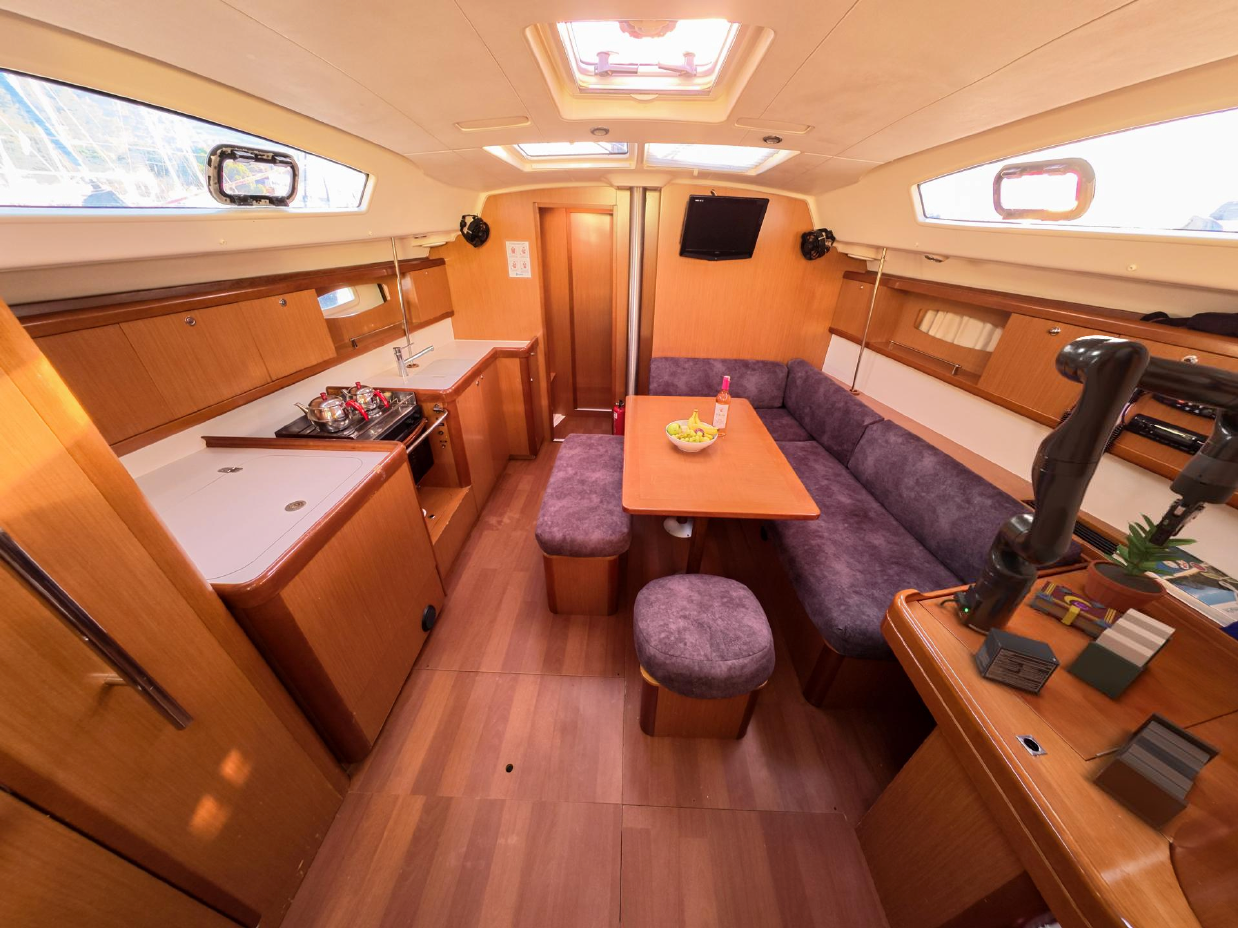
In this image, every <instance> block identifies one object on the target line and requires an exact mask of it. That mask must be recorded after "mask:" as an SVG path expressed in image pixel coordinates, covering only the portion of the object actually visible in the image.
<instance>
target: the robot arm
mask: <svg viewBox="0 0 1238 928" xmlns="http://www.w3.org/2000/svg"><path fill="white" fill-rule="evenodd" d="M1054 367H1055V370H1056V372H1057V373H1058V374H1059V375H1060V376H1061V377H1062V378H1064V379H1066V380H1068V381H1070V382H1074V383H1076V384H1077V383H1078V384H1081V385H1082V389H1081V393H1080V396H1079V398H1078V401H1077V403H1076V406H1075V408H1074V409H1073V411H1072V412H1071V414H1070V416H1068V417H1067V419H1065V420H1064V421H1063V422H1062V423H1060V424H1059V425H1058V426H1056V427H1055V428H1054V429H1053V430H1051V431H1050V432H1049V433H1048V434H1047V435H1046V436H1044V438H1043V439H1042V440H1041V442H1040V443H1039V445H1038V448H1037V450H1036V453H1035V456H1034V459H1033V462H1032V466H1031V473H1030V477H1031V478H1030V479H1031V486H1032V492H1033V498H1034V513H1032V514H1031V513H1020V514H1015V515H1013V516H1011V517H1009V518H1008V519H1006V521H1004V522H1003V523H1002V524H1001V526H1000V527H999V529H998V531H997V533H996V534H995V537H994V539H993V541H992V543H991V545H990V547H989V549H988V553H987V562H986V564H985V565H984V567H983V569H982V570H981V573H980V574H979V576H978V578H977V580H976V581H975V584H971V583H970V585H968V587H967V589H966V590H965V592H963V591H959V590H956V591H955V592H954V594H953V596H952V598H947V599H943V600H942V601H941V602H940V603H939V605H940V606H941V607H942V606H944V605H945V604H946V603H955V605H956V608H955V609H956V613H957V615H958V617H959V619H960V622H961V625H962V626H965V627H968V628H970V629H971V630H973V631H975V632H977V633H979V634H981V635H984V636H987V635H988V633H989V632H990V630H991V628H995V629H998V630H1002V631H1005V629H1006V628H1007V626H1008V624H1009V623H1010V621H1011V620H1012V618H1013V617H1014V616H1015V614H1016V613H1017V611H1018V610H1019V608H1020V606H1021V604H1022V603H1023V602H1024V600H1025V598H1026V597H1027V595H1028V594H1029V592H1031V589H1032V588H1033V586H1034V584H1035V583H1036V582H1037V580H1038V577H1039V573H1038V570H1037V568H1036V566H1037V567H1045V566H1050V565H1053V564H1055V563H1058V562H1059V561H1060V560H1061V559H1063V557H1065V555H1066V554H1067V553H1068V551H1069V549H1070V547H1071V543H1072V539H1073V535H1074V530H1075V525H1076V522H1077V518H1078V515H1079V512H1080V509H1081V507H1082V504H1083V502H1084V500H1085V496H1086V494H1087V491H1088V489H1089V486H1090V483H1091V482H1092V480H1093V478H1094V475H1095V474H1096V472H1097V469H1098V467H1099V464H1100V463H1101V460H1102V458H1103V454H1104V451H1105V449H1106V447H1107V444H1108V442H1109V440H1110V438H1111V436H1112V433H1113V432H1114V430H1115V427H1116V426H1117V425H1116V424H1117V422H1118V420H1119V418H1120V416H1121V414H1122V413H1123V411H1124V409H1125V407H1126V406H1127V404H1128V403H1129V401H1130V399H1131V398H1132V396H1133V394H1134V393H1135V391H1136V389H1139V390H1143V391H1146V392H1148V393H1152V394H1156V395H1159V396H1162V397H1166V398H1169V399H1172V400H1176V401H1180V402H1183V403H1188V404H1193V405H1197V406H1200V407H1204V408H1205V407H1206V408H1211V409H1216V410H1217V413H1216V415H1215V419H1214V423H1213V428H1212V432H1211V434H1210V435H1209V437H1208V438H1207V439H1206V441H1205V442H1204V443H1203V445H1202V446H1201V447H1200V449H1198V451H1197V452H1196V453H1195V455H1193V456H1192V457H1191V458H1190V459H1189V461H1187V463H1186V464H1185V465H1184V467H1183V468H1182V469H1181V471H1180V472H1179V474H1178V475H1177V476H1176V477H1175V479H1174V481H1172V482H1171V484H1170V486H1169V490H1170V491H1171V492H1173V494H1176V495H1179V496H1180V497H1182V498H1180V497H1177V498H1176V499H1175V500H1172V501H1171V503H1170V504H1169V506H1168V509H1167V510H1166V511H1165V512H1164V513H1163V514H1162V515H1161V519H1160V521H1159V522H1158V523H1156V524H1155V525H1156V528H1157V529H1156V531H1155V532H1154V533H1153V535H1152V536H1151V537H1150V539H1149V540H1148V542H1149V543H1152V544H1154V545H1157V546H1160V547H1161V546H1164V545H1165V544H1166V542H1167V541H1168V540H1169V539H1171V538H1172V537H1173V538H1175V537H1177V536H1178V535H1179V534H1180V533H1181V532H1182V530H1183V529H1184V528H1185V527H1186V526H1187V525H1188V524H1189V523H1191V522H1192V520H1195V519H1196V518H1198V516H1199V515H1201V514H1202V513H1203V512H1204V511H1205V509H1206V508H1207V506H1205V504H1210V505H1225V504H1226V503H1228V502H1229V500H1230V499H1231V498H1232V497H1233V495H1235V494H1236V492H1237V491H1238V371H1234V370H1231V369H1225V368H1221V367H1218V366H1212V365H1208V364H1202V363H1196V362H1190V361H1184V360H1183V361H1182V360H1177V359H1172V358H1165V357H1161V356H1156V355H1151V352H1150V349H1149V347H1147V346H1146V344H1144V343H1142V342H1140V341H1137V340H1132V339H1126V338H1120V337H1114V336H1107V335H1088V336H1083V337H1080V338H1076V339H1074V340H1072V341H1070V342H1069V343H1067V344H1065V346H1063V347H1062V348H1061V349H1060V350H1059V351H1058V353H1057V354H1056V357H1055V360H1054ZM1167 521H1169V522H1168V523H1167V524H1166V525H1165V523H1166V522H1167ZM1184 526H1185V527H1184Z"/></svg>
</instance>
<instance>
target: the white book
mask: <svg viewBox="0 0 1238 928" xmlns="http://www.w3.org/2000/svg"><path fill="white" fill-rule="evenodd" d="M1111 630H1113V631H1115V632H1117V633H1119V634H1121V635H1123V636H1125V637H1126V638H1128V639H1130V640H1132V641H1134V642H1136V643H1138V644H1140V645H1142V646H1144V647H1146V648H1148V649H1149V650H1151V651H1153V652H1154V653H1155V652H1156V651H1157V650H1158V649H1159V648H1160V647H1161V646H1162V644H1163V643H1164V642H1165V641H1166V640H1164V639H1162V638H1160V637H1158V636H1156V635H1154V634H1152V633H1150V632H1148V631H1146V630H1144V629H1142V628H1140V627H1138V626H1136V625H1134V624H1132V623H1130V622H1128V621H1126V620H1124V619H1122V618H1120V619H1119V620H1118V621H1117V622H1116V623H1115V624H1114V625H1113V626H1112V627H1111ZM1154 653H1153V654H1154ZM1153 654H1152V655H1153ZM1152 655H1151V656H1152ZM1151 656H1150V657H1151ZM1150 657H1149V658H1150ZM1149 658H1148V659H1147V660H1146V661H1145V663H1146V662H1147V661H1148V660H1149ZM1145 663H1144V664H1145ZM1144 664H1143V665H1144ZM1143 665H1142V666H1143ZM1142 666H1141V667H1142Z"/></svg>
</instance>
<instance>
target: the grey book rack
mask: <svg viewBox="0 0 1238 928" xmlns="http://www.w3.org/2000/svg"><path fill="white" fill-rule="evenodd" d="M1221 753H1222V750H1221V749H1219V748H1217V747H1215V746H1214V745H1212V744H1211V743H1209V742H1207V741H1205V740H1204V739H1202V738H1200V737H1199V736H1197V735H1195V734H1193V733H1192V732H1191V731H1189V730H1187V729H1186V728H1184V727H1182V726H1180V724H1177V723H1176V722H1174V721H1172V720H1170V719H1169V718H1167V717H1165V716H1164V715H1162V714H1161V713H1159V712H1157V711H1154V712H1153V713H1151V715H1150V716H1148V718H1147V719H1146V720H1144V722H1142V723H1141V724H1140V726H1138V727H1137V728H1136V729H1135V730H1133V732H1132V733H1131V734H1130V735H1129V737H1128V738H1127V739H1126V740H1125V741H1124V743H1123V744H1122V745H1121V746H1120V747H1119V749H1118V750H1117V751H1116V752H1115V753H1114V754H1113V756H1112V757H1111V758H1110V760H1108V762H1107V763H1106V764H1105V765H1104V766H1103V768H1102V769H1101V770H1100V772H1098V774H1097V775H1096V776H1095V777H1094V779H1092V783H1093V784H1095V785H1096V786H1098V787H1099V789H1102V790H1103V791H1104V792H1105V793H1107V795H1109V796H1111V797H1112V798H1113V799H1115V800H1116V801H1117V802H1119V803H1120V804H1122V806H1124V807H1125V808H1126V809H1128V810H1129V811H1130V812H1132V813H1133V814H1134V815H1136V816H1137V817H1138V818H1140V820H1142V821H1143V822H1145V823H1147V824H1148V825H1149V826H1150V827H1151V828H1153V829H1154V830H1156V831H1158V830H1160V829H1161V828H1162V827H1164V825H1165V824H1167V823H1168V822H1170V821H1171V820H1172V819H1174V818H1175V817H1177V815H1179V814H1181V813H1182V812H1184V810H1186V809H1187V808H1188V807H1189V805H1190V803H1189V802H1187V801H1186V800H1185V797H1186V796H1187V794H1188V793H1189V791H1190V790H1191V788H1192V786H1193V784H1194V781H1192V780H1193V779H1194V778H1195V777H1197V775H1199V774H1200V773H1201V772H1202V770H1203V769H1204V767H1205V766H1206V765H1207V764H1209V763H1210V762H1212V761H1213V760H1214V759H1215V758H1216V757H1217V756H1219V755H1220V754H1221Z"/></svg>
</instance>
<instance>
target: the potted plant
mask: <svg viewBox="0 0 1238 928" xmlns="http://www.w3.org/2000/svg"><path fill="white" fill-rule="evenodd" d="M1140 516H1141V517H1142V518H1143V520H1144V521H1145V524H1146V525H1147V527H1148V528H1149V529H1148V530H1147V529H1146V527H1144V525H1142V524H1140V523H1139V522H1136V521H1133V524H1131V523H1130V521H1128V520H1126V521H1127V523H1128V530H1129V532H1128V534H1127V535H1126V536H1123V538H1124V539H1125V540H1126V541H1127V544H1128V545H1126V546H1124V545H1122V544H1121V543H1120V542H1118V544H1119V545H1117V546H1116V549H1117V551H1113V552H1112V551H1111V553H1113V554H1114V555H1116V556H1117V557H1119V558H1121V559H1122V560H1123V561H1124V562H1122V561H1121V560H1119V559H1118V558H1116V557H1114V556H1112V555H1110V554H1108V553H1107V554H1106V553H1100V552H1098V554H1099V555H1101V556H1103V557H1104V558H1105V559H1107V560H1104V559H1094V560H1092V561H1091V562H1090V563H1089V564H1088V565H1087V567H1086V571H1087V577H1086V582H1085V586H1084V593H1085V594H1086V596H1088V597H1089V599H1090V600H1092V601H1094V600H1096V601H1098V602H1101V603H1103V604H1105V606H1106V607H1108V608H1111V609H1113V610H1115V611H1117V612H1120V613H1123V614H1125V613H1126V612H1127V611H1128V610H1130V609H1131V608H1132V609H1134V610H1136V611H1138V610H1140V609H1142V608H1143V607H1145V606H1147V605H1149V604H1151V603H1153V602H1155V601H1160V600H1162V599H1163V598H1164V597H1165V595H1166V594H1167V593H1168V592H1167V587H1166V586H1164V585H1163V583H1161V582H1160V581H1159V580H1158V579H1159V578H1158V577H1153V576H1150V575H1149V574H1147V573H1153V574H1158V575H1161V576H1162V575H1163V576H1167V577H1173V578H1176V576H1175V575H1174V574H1173V572H1171V571H1168V570H1165V569H1160V568H1156V567H1157V565H1158V563H1159V562H1160V563H1161V562H1178V561H1179V562H1180V561H1189V560H1190V559H1189V558H1182V557H1179V556H1177V555H1179V554H1181V552H1180V551H1176V550H1174V551H1171V550H1168V549H1171V548H1173V547H1179V546H1180V547H1181V546H1190V545H1192V544H1195V543H1198V541H1197V540H1196V539H1194V538H1178V537H1177V538H1175V537H1173V538H1170V539H1169V540H1168V541H1167V542H1166V544H1165V545H1164V546H1161V547H1160V546H1157V545H1154V544H1152V543H1149V542H1148V540H1149V539H1150V537H1151V536H1152V535H1153V533H1154V532H1155V531H1156V529H1157V528H1156V525H1157V524H1154V522H1153V521H1152V519H1151V518H1150V517H1149V516H1147V515H1146V514H1143V513H1140ZM1168 522H1169V521H1167V522H1166V523H1165V525H1166V524H1167V523H1168ZM1185 527H1186V526H1184V527H1183V528H1185ZM1143 535H1144V536H1143ZM1173 554H1174V555H1173ZM1176 554H1177V555H1176ZM1177 579H1179V576H1177Z"/></svg>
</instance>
